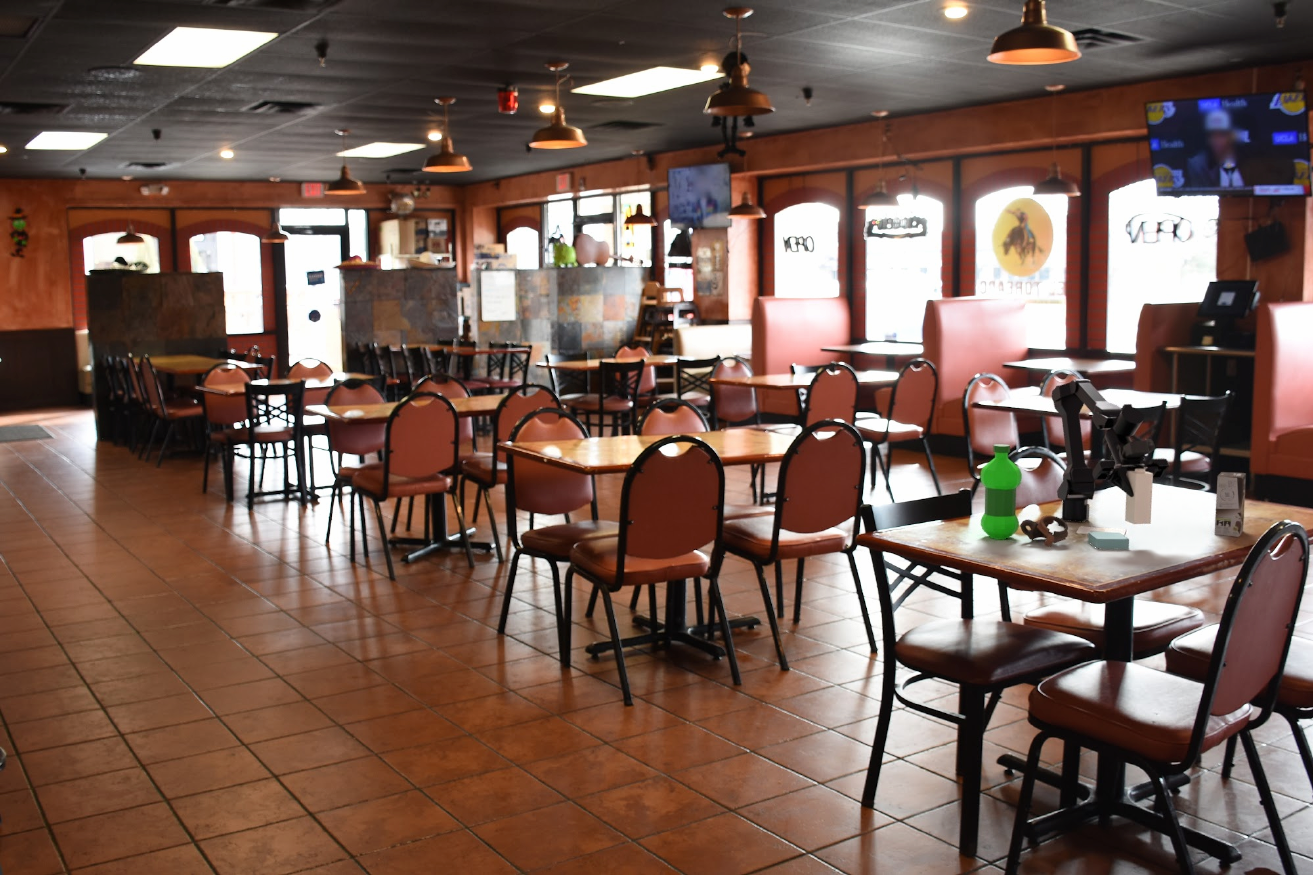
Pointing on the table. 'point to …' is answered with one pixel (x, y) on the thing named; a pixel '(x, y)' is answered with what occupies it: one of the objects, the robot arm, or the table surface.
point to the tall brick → (1139, 497)
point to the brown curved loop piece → (1045, 529)
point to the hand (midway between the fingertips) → (1141, 495)
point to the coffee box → (1230, 504)
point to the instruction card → (1099, 530)
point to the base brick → (1108, 540)
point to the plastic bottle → (1000, 494)
